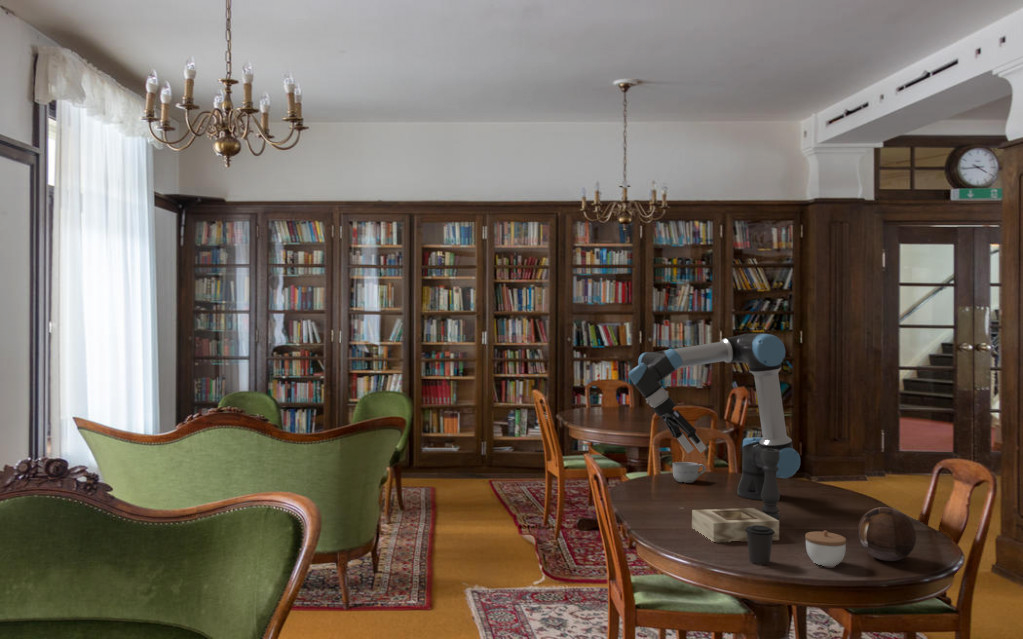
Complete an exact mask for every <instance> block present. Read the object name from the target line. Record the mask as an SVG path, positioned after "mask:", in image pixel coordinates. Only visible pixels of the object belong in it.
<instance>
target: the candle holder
mask: <svg viewBox="0 0 1023 639" xmlns="http://www.w3.org/2000/svg"><path fill="white" fill-rule="evenodd" d="M762 459H763V462H764V464H765V466H763V470H764V471H765V480H764V484H763V488H762V492H761V498H762V500H761V501H762V503H763V505H762V507H761V510H760V511H761V512H763V513H765V514H767V515H769V516H771V517H773V518H775V519H777V520H779V521H780V515H781V514H780V513H779V511H780V509H779V508H778V506H777V505H778V503H779V501H780V498H781V495H780V490H779V486H778V482H777V477H776V473H777V471H778V470H779V468H778V467H777V464H778V463H779V459H780V450H777V449H762Z"/></svg>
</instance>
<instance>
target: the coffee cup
mask: <svg viewBox="0 0 1023 639" xmlns="http://www.w3.org/2000/svg"><path fill="white" fill-rule="evenodd" d="M745 531H746V532H747V540H748V541H747V548H748V550H747V551H748V557H749V559H748V560H749V563H751V562H752V563H751V564H753V563H755V564H754V565H757V564H761V565H760V566H765V565H764V564H768V565H769V564H770V559H771V552H772V545H773V540H772V538H773V534H774V533H775V532H774V530H773V529H771V528H768V527H765V526H760V525H754V526H748V527H746V529H745Z"/></svg>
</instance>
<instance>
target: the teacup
mask: <svg viewBox="0 0 1023 639" xmlns="http://www.w3.org/2000/svg"><path fill="white" fill-rule="evenodd" d="M700 467H702V471H700V472H699V469H700ZM705 472H706V465H704V464H702V463H697V462H691V461H690V462H688V461H678V462H677V461H676V462H672V475H673V478H674V479H675V481H676V482H678V483H682V482H684V484H686V483H687V484H690V483H694V482H695V481H696V480H697V479H699V477H700V476H702V475H703V474H704V473H705Z"/></svg>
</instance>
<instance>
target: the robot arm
mask: <svg viewBox="0 0 1023 639" xmlns="http://www.w3.org/2000/svg"><path fill="white" fill-rule="evenodd" d="M785 357H786V348H785V345H784V342H783V341H782V340H781V339H780V338H779V337H778V336H776V335H774V334H770V333H751V332H750V333H744V334H738V335H736V336H731V337H727V338H722V339H721V340H720V341H717V342H711V343H706V344H697V345H691V346H685V347H679V348H668V349H666V350H665V349H664V350H660V351H654V352H650V351H647V352H643V353H641V354H640V355H639V357H638V361H637V363H638V365H637V366H635V367H634V368H632V369H631V370H630V371H629V372H628V374H627V376H628V377H629V379H630V381H632V383H633V386H635V388H636V389H637V390H638V392H640V394H641V396H642V397H643V398H644V399H645V400H646V401H645V402H646V404H648V405H649V406H650V407H651V408H653V409H652V410H653V411H654V413H655V414H656V416H658V417H659V418H660V417H661V419H662V420H663V421H664V423H665V425H666V427H667V428H668V430H669V432H670V434H671V436H672V438H673V437H674V438H675V439H676V440H677V441H678V442H679V443H680V445H681V446H682V447H683V449H684V451H686V453H687V454H689V453H691V452H692V451H693V450H694V449H695V448H694V447H696V449H697V450H698V452H699V453H700V454H701V453H703V452H704V451H705V450H707V449H708V447H707V446H706V445H705V443H704V442H703V441H702V439H701V438H700V437H699V435H698V434H697V432H696V431H697V429H696V428H695V427H694V426H693V425H692V424H691V423H690V422H689V421H688V420H687V419H686V418H685V417H684V416H683V415H682V414H681V412H680V410H678V409H676V410H674V408H675V407H676V403H675V402H674V400H673V399H672V398H671V397H670V396H669V394H668V393H667V391H666V389H665V388H664V387H663V386H662V384H661V382H662V381H663V380H665V379H666V378H668V376H670V375H671V374H673V373H674V372H676V371H677V370H678V369H682V368H688V367H694V366H700V365H709V364H712V363H719V362H720V363H721V362H725V363H726V364H730V363H742V364H743V363H744V364H747V365H748V371H749V373H751V374H752V375H753V378H754V383H755V389H756V390H755V391H756V398H757V406H758V413H759V419H760V427H761V434H762V437H757V436H754V437H745V438H743V440H742V447H741V448H742V474H741V478H740V480H739V484H738V486H737V495H738V496H739V497H742V498H745V499H751V500H761V501H763V500H762V498H761V492H762V488H763V484H764V480H765V471H764V470H763V466H765V464H764V462H763V459H762V449H777V450H780V459H779V463H778V464H777V467H778V468H779V470H778V471H777V473H776V478H781V479H788V478H791V477H793V476H794V475H795V474H796V473H797V471H799V469H800V466H801V456H800V454H799V452H798V451H796V450H795V448H794V447H793V440H792V438H790V436H788V434H787V427H786V421H785V414H784V406H783V400H782V392H781V391H782V390H781V384H780V379H779V372H780V371H781V369H782V362H784V359H785ZM680 429H681V430H680ZM684 433H685V434H686V435H687V436H685V434H684ZM687 438H688V439H689V440H690V441H691V442H690V441H689V440H688V439H687ZM691 443H692V444H693V445H694V447H693V445H692V444H691Z"/></svg>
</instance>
